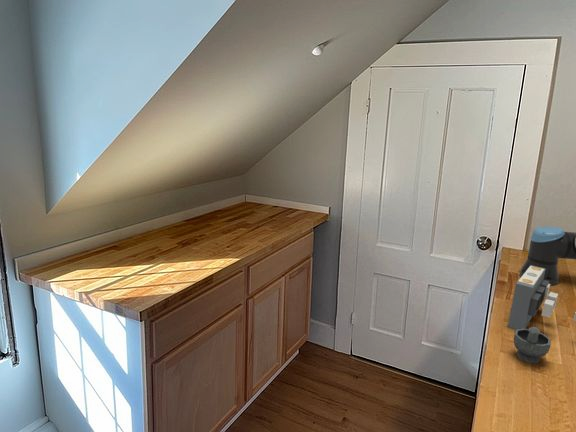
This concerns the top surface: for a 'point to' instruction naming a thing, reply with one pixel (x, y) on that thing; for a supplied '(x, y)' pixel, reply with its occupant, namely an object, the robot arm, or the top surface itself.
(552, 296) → the button middle
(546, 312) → the button
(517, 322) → the button panel
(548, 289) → the button
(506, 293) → the top surface
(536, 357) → the mortar and pestle
